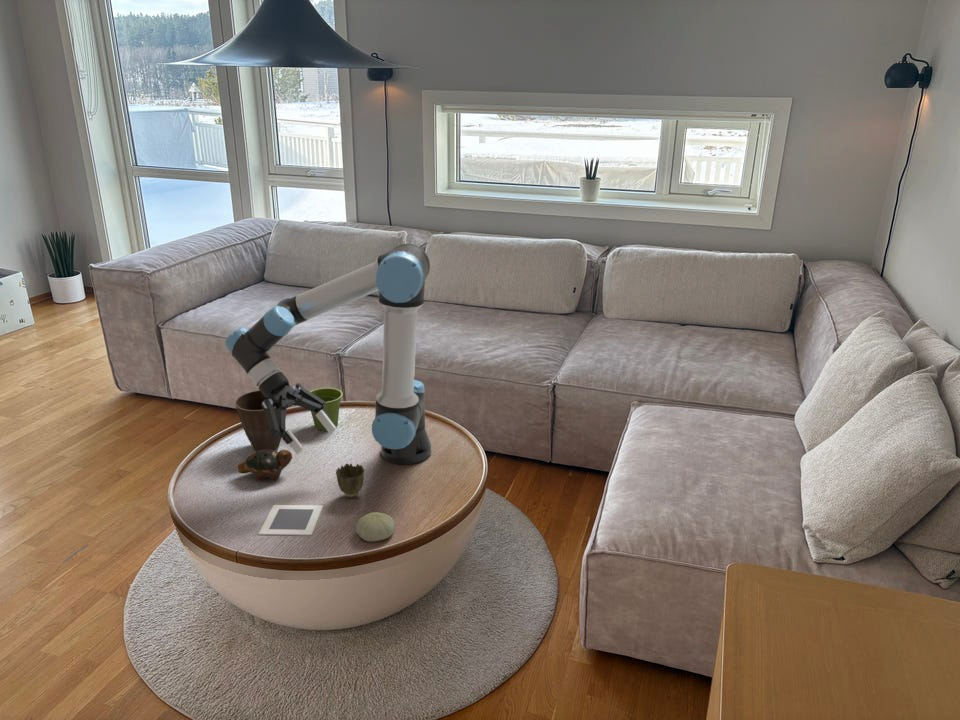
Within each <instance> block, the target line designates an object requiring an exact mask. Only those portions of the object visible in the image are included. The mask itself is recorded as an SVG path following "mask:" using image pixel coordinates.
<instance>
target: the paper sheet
mask: <svg viewBox="0 0 960 720" xmlns="http://www.w3.org/2000/svg"><path fill="white" fill-rule="evenodd" d="M323 508H324V505H313V504H312V505H311V504H310V505H305V504H304V505H302V504H301V505H300V504H298V505H297V504H291V505H290V504H273V506H272V508H271V509H270V511H269V513H268V515H267V517H266V519H265V520H264V522H263V524H262V527H261V528H260V530H259V532H258V535H259V536H261V535H264V536H312V535H313V533H314V530H315V528H316V526H317V523H318V521H319V518H320V515H321V513H322V510H323Z"/></svg>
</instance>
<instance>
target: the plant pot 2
mask: <svg viewBox="0 0 960 720" xmlns="http://www.w3.org/2000/svg"><path fill="white" fill-rule="evenodd" d="M309 392H311V393H313V394H314V395H316V396H317V397H319V398H320V399H322V400H323V401H325V402H326V405H325V407H324V410H325V412H326V413H327V414H328V416H329V417H330V420H331V421H332V423H333V424H334V425H335V427H336V428H337V427H338V425H339V415H340V405H341V399H342V397H343V393H344V392H343V391H342V390H341V389H337V388H334V387H321V388H316V389H315V388H314V389H312V390H309ZM310 413H311V416H312V420H313V424H314V427H315V429H317V430H318V431H320V430H321V431H322V432H323V431H324V432H328V431H327V430H326V428H325V427H324V426H323V425H322V423H321V422H320V421H319V419H318V418H317V417H316V416H315V415H316V414H317V413H315V412H313V411H310Z"/></svg>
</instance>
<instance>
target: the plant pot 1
mask: <svg viewBox="0 0 960 720" xmlns="http://www.w3.org/2000/svg"><path fill="white" fill-rule="evenodd" d="M265 399H268V398H265V396H264V395H263V394H262V393H261V391H260V390H259V389H258V390H256V391H255V390H254V391H250V392H247V393H244V394H242V395H240V396H239V397H237V398H236V400H235V402H234V403H235V408H236V411H237V415H238V418H239V421H240V424H241V426H242V428H243V431H244V433H245V436H246V437H247V439H248V441H249V443H250V445H251V447H252V448H253V450H254V452H256V451H259V450H265V449H269V450H274V451H276V450H277V449H278V448H279V447H280V445H281V442H282V437H281V436H279V437H277V436H276V435H275V436H272V435H271V433H270V430H269V426H268V422H267V418H266V414H265V411H264V409H263V408H262V406H261V404H262V403H263V401H264V400H265ZM272 406H273V408H274V412H275V416H276V419H277V413H276V409H275V406H274V405H272ZM287 409H288V408H287ZM287 409H285V420H286V419H287Z"/></svg>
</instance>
